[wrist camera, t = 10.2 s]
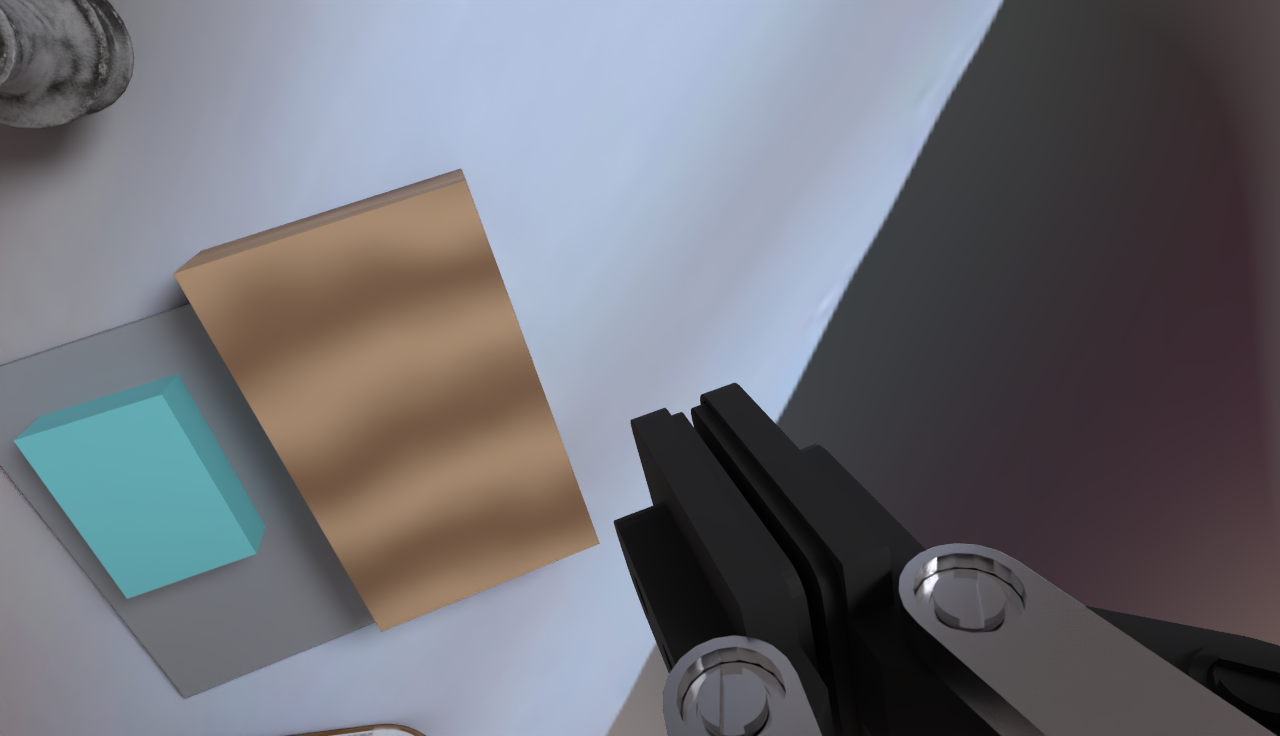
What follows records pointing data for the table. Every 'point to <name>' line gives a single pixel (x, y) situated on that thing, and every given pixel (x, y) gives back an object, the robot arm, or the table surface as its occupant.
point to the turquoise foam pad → (145, 485)
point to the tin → (369, 731)
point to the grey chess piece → (60, 60)
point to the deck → (397, 393)
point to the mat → (292, 540)
